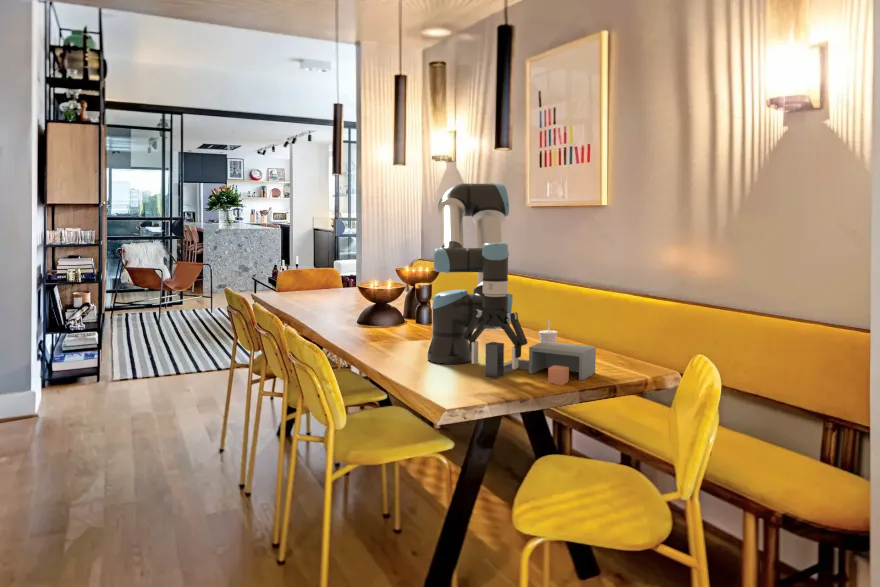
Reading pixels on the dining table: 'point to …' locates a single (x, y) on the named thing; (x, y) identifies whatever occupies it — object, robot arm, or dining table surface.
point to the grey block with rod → (500, 361)
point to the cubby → (563, 357)
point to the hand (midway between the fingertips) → (494, 365)
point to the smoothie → (548, 334)
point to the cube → (558, 374)
